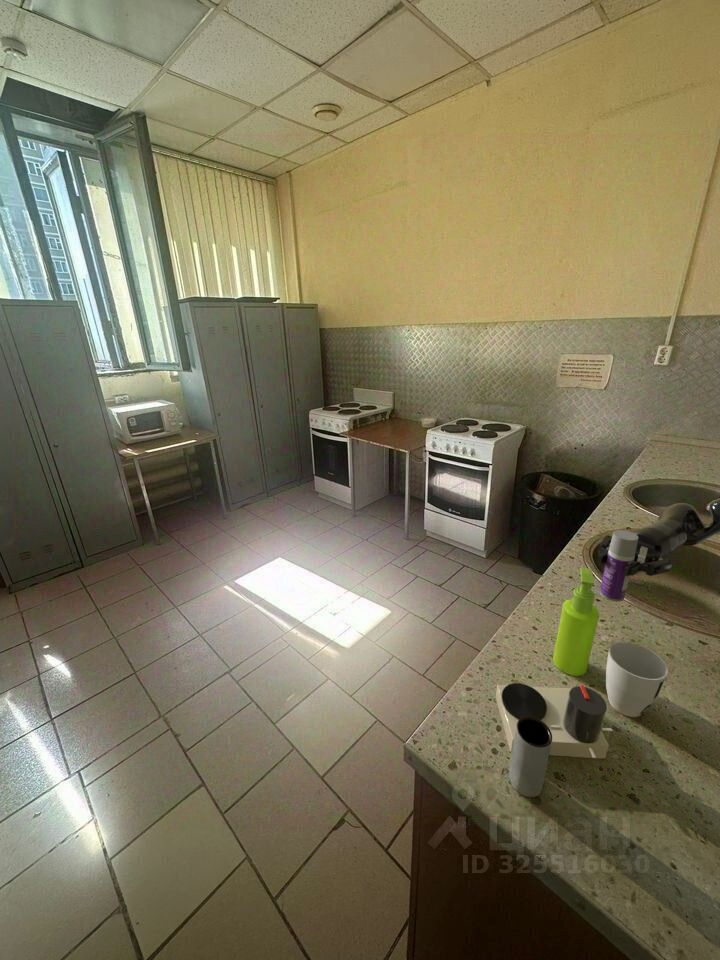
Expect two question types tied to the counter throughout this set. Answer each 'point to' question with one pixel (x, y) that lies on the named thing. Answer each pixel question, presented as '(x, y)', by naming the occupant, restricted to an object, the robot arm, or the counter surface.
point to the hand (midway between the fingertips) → (612, 565)
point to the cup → (633, 677)
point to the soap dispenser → (577, 628)
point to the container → (618, 565)
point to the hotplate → (523, 701)
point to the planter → (530, 756)
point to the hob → (554, 726)
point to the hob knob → (584, 714)
